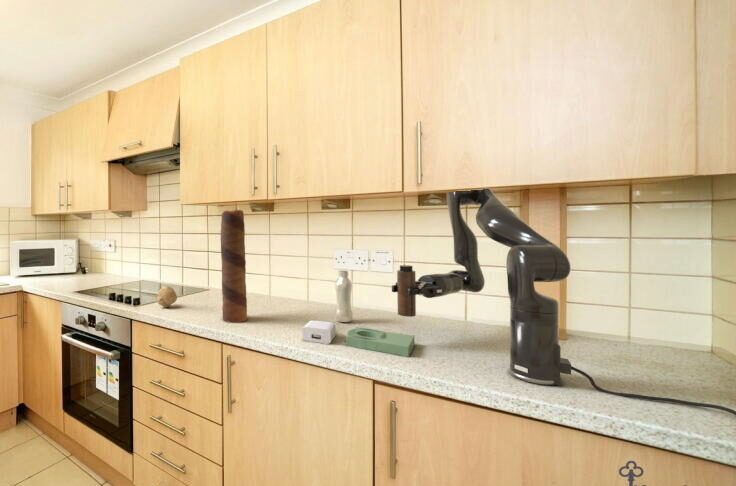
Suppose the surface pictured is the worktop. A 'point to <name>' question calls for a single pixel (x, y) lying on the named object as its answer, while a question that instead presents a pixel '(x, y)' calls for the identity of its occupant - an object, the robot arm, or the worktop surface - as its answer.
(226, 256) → the wafer roll
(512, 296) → the robot arm
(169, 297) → the natural sponge
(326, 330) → the charger
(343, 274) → the plastic bottle
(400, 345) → the board
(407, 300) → the pepper mill
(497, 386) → the worktop surface
